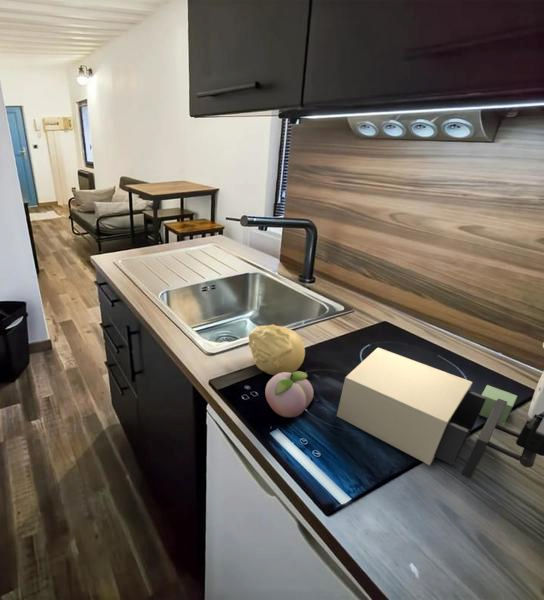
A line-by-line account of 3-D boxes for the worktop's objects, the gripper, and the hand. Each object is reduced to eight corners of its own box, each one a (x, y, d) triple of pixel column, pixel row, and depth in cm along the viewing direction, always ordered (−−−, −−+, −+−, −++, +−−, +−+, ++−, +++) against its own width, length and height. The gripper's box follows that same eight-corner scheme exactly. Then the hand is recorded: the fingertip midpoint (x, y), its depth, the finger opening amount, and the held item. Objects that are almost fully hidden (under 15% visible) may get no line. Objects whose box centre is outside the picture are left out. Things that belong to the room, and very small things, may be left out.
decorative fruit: (277, 392, 79) (282, 354, 75) (315, 411, 74) (322, 371, 69) (254, 415, 74) (258, 375, 69) (292, 437, 68) (299, 395, 64)
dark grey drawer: (531, 453, 61) (551, 418, 58) (514, 502, 54) (536, 465, 50) (399, 395, 75) (409, 364, 72) (371, 428, 68) (381, 395, 64)
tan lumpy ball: (239, 360, 90) (242, 323, 86) (279, 349, 94) (283, 312, 89) (269, 388, 81) (274, 347, 76) (312, 373, 84) (319, 334, 80)
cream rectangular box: (455, 422, 69) (472, 381, 65) (429, 465, 61) (447, 422, 57) (367, 383, 80) (377, 347, 76) (336, 416, 72) (345, 377, 68)
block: (508, 413, 70) (517, 395, 68) (503, 424, 68) (512, 406, 66) (479, 402, 74) (487, 384, 72) (473, 412, 71) (481, 394, 69)
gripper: (630, 385, 41) (557, 493, 49) (635, 337, 49) (572, 437, 57) (537, 356, 46) (485, 458, 54) (555, 317, 54) (508, 411, 62)
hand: (530, 447), depth 56 cm, fingers closed
